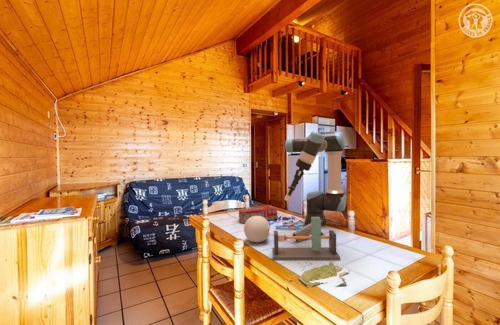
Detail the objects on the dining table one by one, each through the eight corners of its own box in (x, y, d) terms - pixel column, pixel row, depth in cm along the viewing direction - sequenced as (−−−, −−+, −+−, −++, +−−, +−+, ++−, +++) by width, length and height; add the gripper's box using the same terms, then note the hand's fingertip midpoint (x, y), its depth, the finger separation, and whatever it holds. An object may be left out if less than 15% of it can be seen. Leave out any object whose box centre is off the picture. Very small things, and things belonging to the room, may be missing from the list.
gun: (327, 232, 152) (324, 217, 151) (298, 250, 140) (294, 234, 138) (324, 231, 154) (321, 216, 153) (295, 249, 142) (291, 233, 141)
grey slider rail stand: (333, 250, 127) (333, 228, 127) (340, 260, 115) (340, 236, 115) (272, 250, 130) (271, 229, 129) (272, 260, 118) (272, 236, 118)
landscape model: (323, 301, 87) (324, 295, 86) (294, 279, 99) (295, 274, 99) (363, 281, 100) (364, 275, 100) (333, 263, 112) (334, 259, 112)
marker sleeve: (319, 247, 123) (319, 216, 123) (321, 250, 120) (320, 218, 120) (311, 247, 124) (311, 216, 123) (312, 250, 121) (312, 218, 120)
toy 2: (275, 242, 141) (274, 216, 140) (252, 248, 134) (251, 221, 133) (261, 235, 154) (261, 211, 153) (240, 240, 147) (239, 215, 146)
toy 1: (278, 220, 189) (278, 207, 188) (242, 224, 179) (241, 211, 179) (273, 216, 199) (272, 204, 198) (238, 221, 189) (237, 208, 189)
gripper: (300, 155, 137) (284, 188, 142) (296, 161, 113) (277, 200, 118) (312, 161, 135) (296, 194, 140) (311, 168, 112) (291, 207, 117)
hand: (287, 196), depth 129 cm, fingers open, 13 cm apart
